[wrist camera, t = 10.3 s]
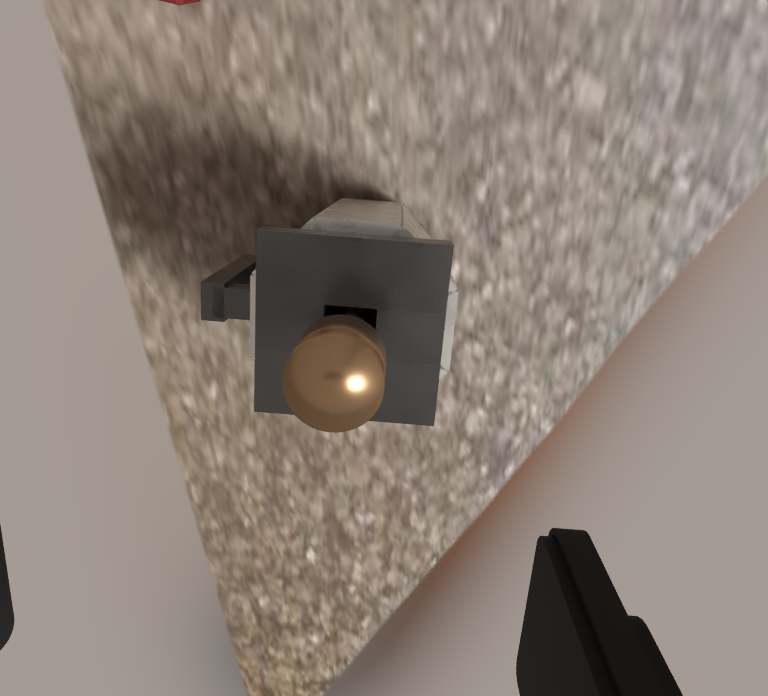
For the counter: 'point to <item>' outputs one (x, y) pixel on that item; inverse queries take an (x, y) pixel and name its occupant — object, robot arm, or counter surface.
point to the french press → (346, 298)
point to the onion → (180, 1)
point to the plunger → (337, 371)
